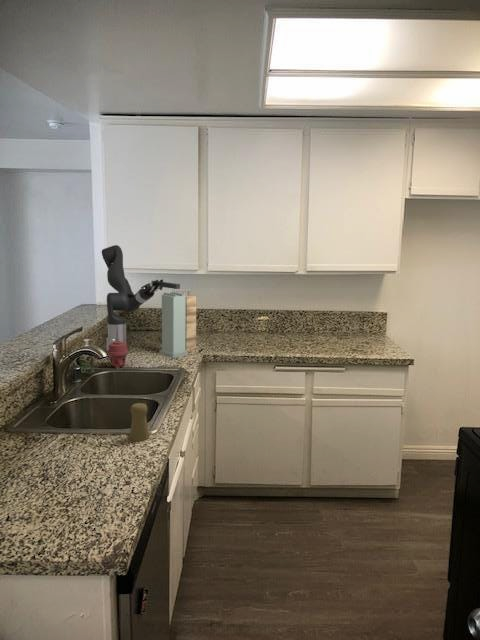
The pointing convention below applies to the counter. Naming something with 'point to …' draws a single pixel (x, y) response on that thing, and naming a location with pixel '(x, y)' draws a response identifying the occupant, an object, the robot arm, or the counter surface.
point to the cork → (139, 423)
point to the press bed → (190, 322)
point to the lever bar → (168, 285)
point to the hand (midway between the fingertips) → (160, 281)
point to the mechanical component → (118, 353)
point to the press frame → (173, 325)
